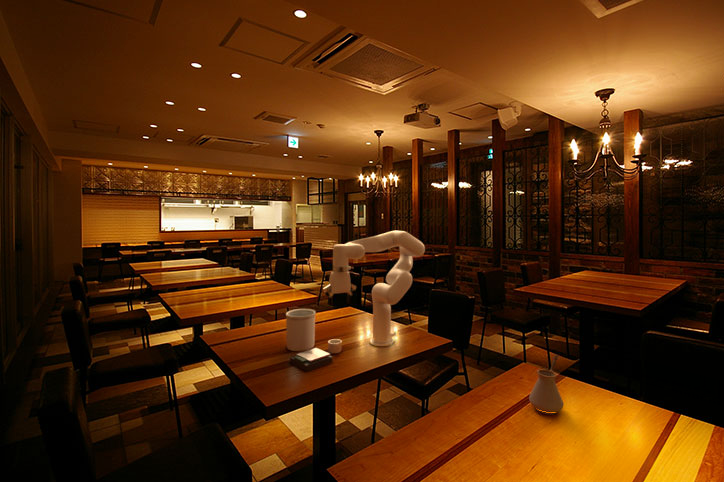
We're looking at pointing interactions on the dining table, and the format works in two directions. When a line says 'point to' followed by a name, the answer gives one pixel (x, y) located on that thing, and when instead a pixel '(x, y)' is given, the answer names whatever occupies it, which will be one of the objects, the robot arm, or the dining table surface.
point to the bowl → (334, 346)
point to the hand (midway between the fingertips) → (339, 304)
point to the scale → (309, 365)
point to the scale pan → (313, 354)
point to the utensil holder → (300, 329)
